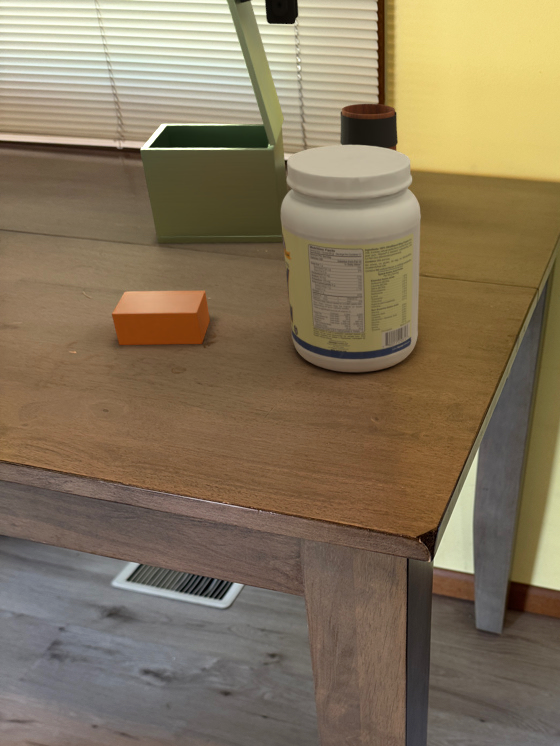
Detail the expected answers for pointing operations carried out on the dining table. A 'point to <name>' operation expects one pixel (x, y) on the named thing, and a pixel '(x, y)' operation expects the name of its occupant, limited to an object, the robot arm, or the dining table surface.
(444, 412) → the dining table surface
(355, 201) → the supplement tub
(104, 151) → the dining table surface
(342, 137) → the mug
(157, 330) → the orange block
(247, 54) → the bin lid
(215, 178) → the bin
